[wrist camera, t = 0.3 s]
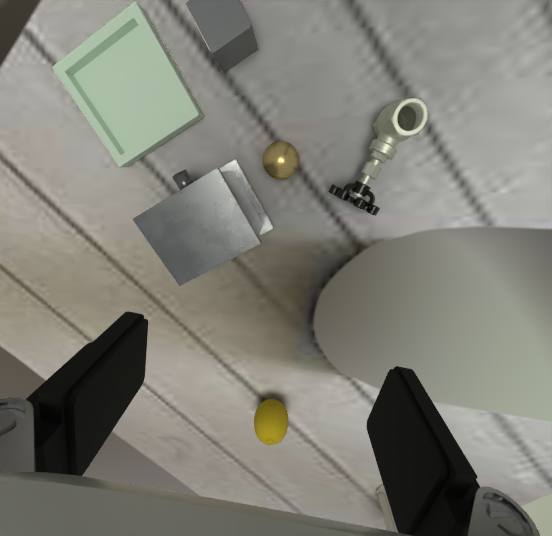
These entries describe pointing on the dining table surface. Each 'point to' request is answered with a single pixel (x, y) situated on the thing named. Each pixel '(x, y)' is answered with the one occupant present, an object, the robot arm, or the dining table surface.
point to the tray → (128, 87)
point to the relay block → (224, 30)
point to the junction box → (205, 222)
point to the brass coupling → (280, 160)
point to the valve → (385, 147)
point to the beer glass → (386, 509)
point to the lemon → (271, 421)
